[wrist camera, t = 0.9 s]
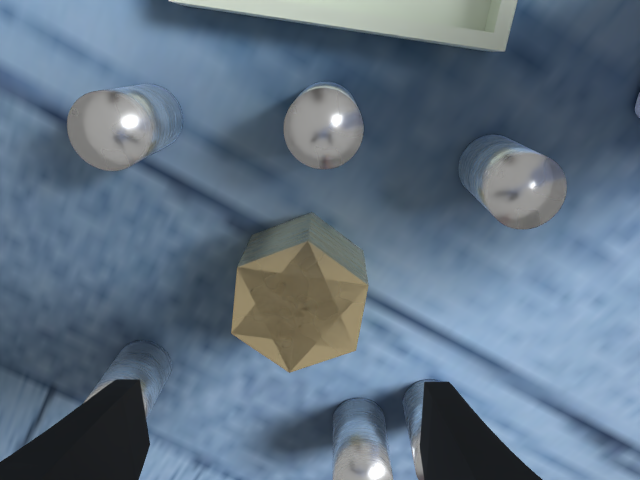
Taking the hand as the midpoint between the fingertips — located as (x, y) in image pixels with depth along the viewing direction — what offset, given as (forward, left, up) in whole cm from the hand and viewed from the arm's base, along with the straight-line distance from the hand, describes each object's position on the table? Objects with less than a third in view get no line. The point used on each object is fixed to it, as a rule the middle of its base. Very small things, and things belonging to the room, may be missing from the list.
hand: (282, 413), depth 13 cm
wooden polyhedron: (0, 0, -9) cm, 9 cm away
